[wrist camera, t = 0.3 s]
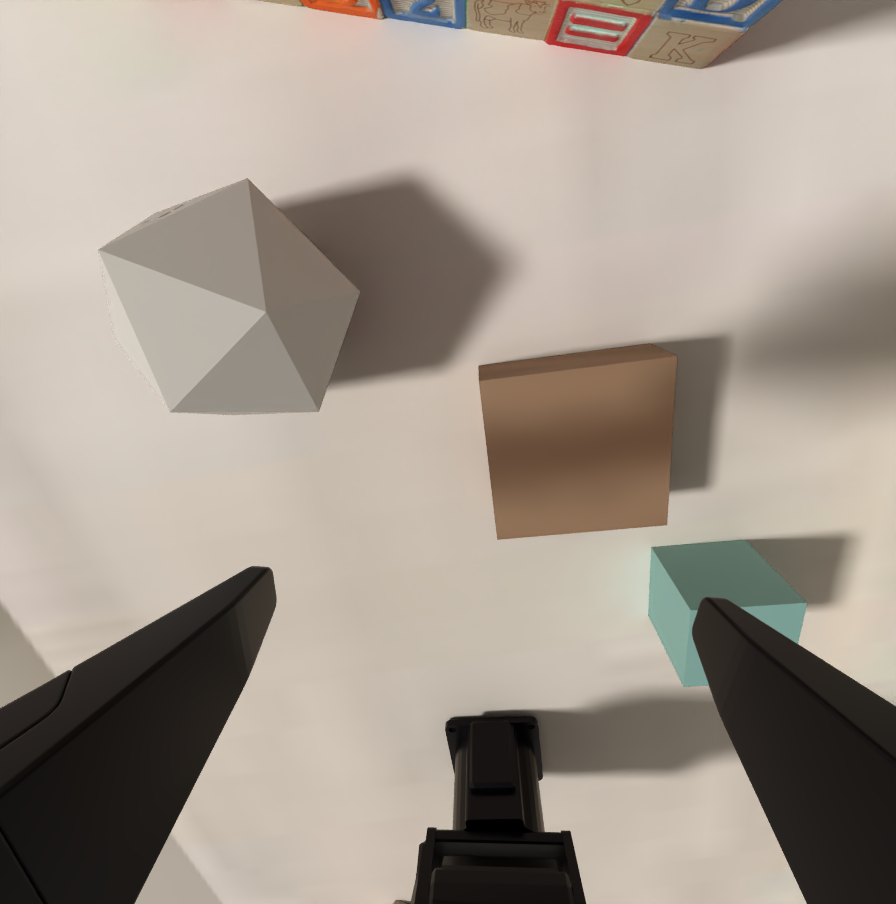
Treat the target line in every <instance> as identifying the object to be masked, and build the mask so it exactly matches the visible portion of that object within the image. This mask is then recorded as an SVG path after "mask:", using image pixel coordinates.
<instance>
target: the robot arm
mask: <svg viewBox="0 0 896 904" xmlns="http://www.w3.org/2000/svg"><path fill="white" fill-rule="evenodd" d="M275 607H276V591H275V584H274V577H273V572H272V570H271V569H270V568H269V567H260V566H251V567H249V568H247V569H245V570H243V571H242V572H240V573H238V574H236V575H235V576H233V577H231V578H229V579H228V580H226V581H224V582H222V583H221V584H219V585H217V586H215V587H214V588H212V589H210V590H208V591H207V592H205V593H203V594H201V595H200V596H198V597H196V598H194V599H193V600H191V601H189V602H187V603H186V604H184V605H182V606H180V607H179V608H177V609H175V610H173V611H172V612H170V613H168V614H166V615H165V616H163V617H161V618H159V619H158V620H156V621H154V622H152V623H151V624H149V625H147V626H145V627H143V628H142V629H140V630H138V631H136V632H135V633H133V634H131V635H129V636H128V637H126V638H124V639H122V640H121V641H119V642H117V643H115V644H114V645H112V646H110V647H108V648H107V649H105V650H103V651H101V652H100V653H98V654H96V655H94V656H93V657H91V658H89V659H87V660H86V661H84V662H82V663H80V664H79V665H77V666H75V667H74V668H73V669H72V671H70V670H68V671H66V672H64V673H63V674H61V675H59V676H57V677H56V678H54V679H52V680H50V681H49V682H47V683H45V684H43V685H42V686H40V687H38V688H36V689H34V690H33V691H31V692H29V693H27V694H25V695H23V696H22V697H20V698H18V699H17V700H14V701H13V702H11V703H9V704H7V705H5V706H4V707H2V708H0V904H134V903H135V901H136V899H137V897H138V895H139V893H140V892H141V890H142V888H143V886H144V884H145V881H146V880H147V878H148V876H149V874H150V872H151V870H152V868H153V866H154V864H155V862H156V860H157V858H158V856H159V854H160V852H161V850H162V848H163V846H164V844H165V842H166V840H167V838H168V836H169V834H170V832H171V830H172V828H173V826H174V824H175V822H176V820H177V818H178V816H179V815H180V813H181V811H182V809H183V807H184V805H185V803H186V801H187V799H188V797H189V795H190V793H191V791H192V789H193V787H194V785H195V783H196V781H197V779H198V777H199V775H200V773H201V771H202V769H203V767H204V765H205V763H206V761H207V759H208V757H209V755H210V753H211V751H212V749H213V747H214V745H215V743H216V741H217V739H218V737H219V735H220V734H221V732H222V730H223V728H224V726H225V724H226V722H227V720H228V718H229V716H230V714H231V712H232V710H233V708H234V706H235V704H236V702H237V700H238V698H239V696H240V694H241V692H242V690H243V688H244V686H245V684H246V682H247V680H248V678H249V675H250V673H251V670H252V668H253V665H254V663H255V660H256V658H257V655H258V652H259V650H260V647H261V644H262V642H263V639H264V637H265V634H266V631H267V629H268V626H269V623H270V621H271V618H272V616H273V613H274V610H275ZM692 637H693V641H694V644H695V647H696V650H697V653H698V655H699V658H700V661H701V664H702V667H703V670H704V673H705V675H706V678H707V681H708V684H709V687H710V690H711V693H712V695H713V698H714V701H715V704H716V706H717V709H718V712H719V714H720V717H721V719H722V721H723V723H724V726H725V728H726V730H727V732H728V734H729V737H730V739H731V741H732V743H733V745H734V747H735V749H736V752H737V754H738V756H739V758H740V760H741V762H742V765H743V767H744V769H745V771H746V773H747V775H748V777H749V780H750V782H751V784H752V786H753V788H754V790H755V793H756V795H757V797H758V799H759V801H760V803H761V806H762V808H763V810H764V812H765V814H766V816H767V818H768V821H769V823H770V825H771V827H772V829H773V831H774V834H775V836H776V838H777V840H778V842H779V844H780V847H781V849H782V851H783V853H784V855H785V857H786V859H787V862H788V864H789V866H790V868H791V870H792V872H793V875H794V877H795V879H796V881H797V883H798V885H799V888H800V890H801V892H802V894H803V896H804V898H805V900H806V903H807V904H896V706H894V705H893V704H891V703H890V702H888V701H886V700H885V699H883V698H882V697H880V696H879V695H877V694H875V693H874V692H872V691H871V690H869V689H868V688H866V687H864V686H863V685H861V684H860V683H858V682H857V681H855V680H853V679H852V678H850V677H849V676H847V675H846V674H844V673H842V672H841V671H839V670H838V669H836V668H835V667H833V666H831V665H830V664H828V663H827V662H825V661H824V660H822V659H820V658H819V657H817V656H816V655H814V654H813V653H811V652H809V651H808V650H806V649H805V648H803V647H802V646H800V645H798V644H797V643H795V642H794V641H792V640H791V639H789V638H787V637H786V636H784V635H783V634H781V633H780V632H778V631H776V630H775V629H773V628H772V627H770V626H769V625H767V624H765V623H764V622H762V621H761V620H759V619H758V618H756V617H754V616H753V615H751V614H750V613H748V612H747V611H745V610H744V609H742V608H740V607H739V606H737V605H736V604H734V603H733V602H731V601H729V600H728V599H725V598H718V597H705V598H703V599H702V600H701V602H700V605H699V608H698V611H697V614H696V617H695V620H694V623H693V626H692ZM445 731H446V736H447V741H448V745H449V750H450V755H451V759H452V764H453V769H454V773H455V783H454V808H453V830H437V828H432V827H428V829H427V836H426V841H425V842H423V843H421V844H420V845H419V854H418V865H417V874H416V880H415V885H414V890H413V894H412V899H411V903H410V904H586V901H585V896H584V892H583V887H582V882H581V878H580V873H579V869H578V864H577V860H576V855H575V850H574V846H573V841H572V837H571V832H570V831H561V833H558V832H545V830H544V822H543V814H542V806H541V798H540V790H539V782H538V781H539V780H541V779H542V778H543V773H542V762H541V751H540V740H539V729H538V721H537V719H536V718H534V717H507V718H484V719H460V720H449V721H447V722H446V727H445Z"/></svg>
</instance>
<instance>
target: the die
mask: <svg viewBox="0 0 896 904" xmlns="http://www.w3.org/2000/svg"><path fill="white" fill-rule="evenodd" d="M98 253H99V258H100V264H101V269H102V275H103V280H104V286H105V292H106V297H107V303H108V308H109V314H110V320H111V325H112V331H113V336H114V340H115V341H116V343H117V344H118V345H119V346H120V348H121V349H122V350H123V352H124V353H125V354H126V356H127V357H128V358H129V359H130V361H131V362H132V363H133V365H134V366H135V367H136V369H137V370H138V371H139V372H140V374H141V375H142V376H143V378H144V379H145V380H146V382H147V383H148V384H149V385H150V387H151V388H152V389H153V391H154V392H155V393H156V395H157V396H158V397H159V398H160V400H161V401H162V402H163V404H164V405H165V406H166V408H167V409H168V410H169V411H170V412H177V413H199V414H222V415H246V414H273V413H300V412H319V410H320V407H321V404H322V401H323V398H324V396H325V393H326V390H327V387H328V384H329V381H330V378H331V375H332V372H333V369H334V367H335V364H336V361H337V358H338V355H339V352H340V349H341V346H342V343H343V340H344V338H345V335H346V332H347V329H348V326H349V323H350V320H351V317H352V314H353V312H354V309H355V306H356V303H357V300H358V297H359V294H360V291H359V290H358V289H357V288H356V287H355V286H354V285H353V284H352V283H351V282H350V281H349V280H348V279H347V278H346V277H345V276H344V275H343V274H342V273H341V272H340V271H339V270H338V269H337V268H336V267H335V266H334V265H333V264H332V263H331V262H330V261H329V260H328V259H327V258H326V257H325V256H324V255H323V254H322V253H321V252H320V251H319V250H318V249H317V248H316V247H315V246H314V245H313V244H312V243H311V242H310V241H309V240H308V239H307V238H306V237H305V236H304V235H303V234H302V233H301V232H300V231H299V230H298V229H297V227H296V226H295V225H294V224H293V223H292V222H291V221H290V220H289V219H288V218H287V217H286V216H285V215H284V214H283V213H282V212H281V211H280V210H279V209H278V208H277V207H276V206H275V205H274V204H273V203H272V202H271V201H270V200H269V199H268V198H267V197H266V196H265V195H264V194H263V193H262V192H261V191H260V190H259V189H258V188H257V187H256V186H255V185H254V184H253V183H252V182H251V181H250V180H249V179H248V178H247V179H245V180H242V181H239V182H237V183H234V184H231V185H229V186H226V187H223V188H221V189H218V190H215V191H213V192H210V193H207V194H205V195H202V196H199V197H197V198H194V199H191V200H189V201H186V202H183V203H181V204H178V205H175V206H173V207H170V208H167V209H165V210H162V211H160V212H157V213H155V214H153V215H151V216H150V217H148V218H147V219H145V220H144V221H142V222H140V223H139V224H137V225H136V226H134V227H133V228H131V229H130V230H128V231H126V232H125V233H123V234H122V235H120V236H119V237H117V238H116V239H114V240H112V241H111V242H109V243H108V244H106V245H105V246H103V247H101V248H100V249H98Z"/></svg>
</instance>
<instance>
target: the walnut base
mask: <svg viewBox="0 0 896 904" xmlns="http://www.w3.org/2000/svg"><path fill="white" fill-rule="evenodd" d="M676 369H677V356H676V355H674V354H671V353H669V352H667V351H665V350H663V349H661V348H658V347H656V346H654V345H652V344H643V345H636V346H628V347H620V348H612V349H605V350H597V351H589V352H581V353H574V354H566V355H558V356H550V357H543V358H535V359H527V360H519V361H512V362H504V363H496V364H488V365H481V366H479V385H480V394H481V402H482V411H483V420H484V428H485V437H486V445H487V454H488V462H489V471H490V480H491V488H492V497H493V505H494V514H495V523H496V531H497V540H499V539H510V538H522V537H534V536H545V535H557V534H569V533H580V532H592V531H604V530H615V529H627V528H639V527H650V526H662V525H667V517H668V501H669V484H670V468H671V452H672V435H673V419H674V402H675V386H676Z"/></svg>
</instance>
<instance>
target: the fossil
mask: <svg viewBox="0 0 896 904" xmlns="http://www.w3.org/2000/svg"><path fill="white" fill-rule="evenodd" d="M394 904H407V903H405V902H402V901H395V902H394Z"/></svg>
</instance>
